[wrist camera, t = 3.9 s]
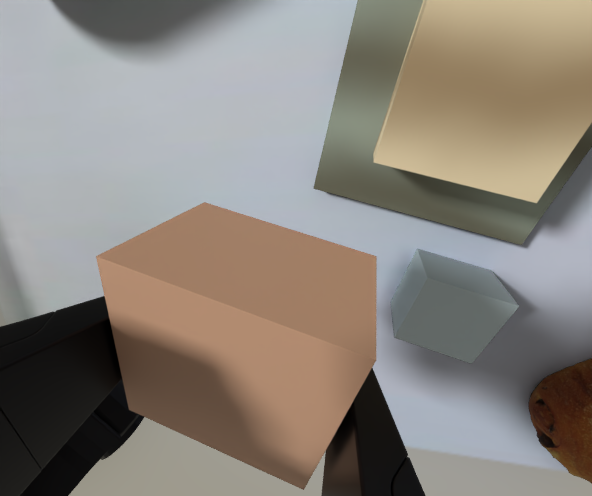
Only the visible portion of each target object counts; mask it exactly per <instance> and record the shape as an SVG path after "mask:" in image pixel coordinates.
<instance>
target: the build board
mask: <svg viewBox="0 0 592 496" xmlns="http://www.w3.org/2000/svg"><path fill="white" fill-rule="evenodd" d="M591 147H592V0H358V2H357V6H356V10H355V15H354V19H353V23H352V27H351V32H350V36H349V40H348V44H347V49H346V53H345V57H344V61H343V66H342V70H341V74H340V78H339V83H338V87H337V91H336V95H335V100H334V104H333V108H332V112H331V117H330V121H329V125H328V129H327V134H326V138H325V142H324V146H323V151H322V155H321V159H320V163H319V168H318V172H317V176H316V180H315V185H314V189H317V190H321V191H325V192H328V193H332V194H336V195H339V196H343V197H347V198H350V199H354V200H358V201H361V202H365V203H369V204H372V205H376V206H380V207H383V208H387V209H391V210H394V211H398V212H402V213H405V214H409V215H413V216H417V217H420V218H424V219H428V220H431V221H435V222H439V223H442V224H446V225H450V226H453V227H457V228H461V229H464V230H468V231H472V232H475V233H479V234H483V235H486V236H490V237H494V238H497V239H501V240H505V241H508V242H512V243H516V244H519V245H522V244H523V242H524V241H525V239H526V238H527V237H528V235H529V234H530V232H531V231H532V230H533V228H534V227H535V225H536V224H537V223H538V221H539V220H540V218H541V217H542V216H543V214H544V213H545V211H546V210H547V209H548V207H549V206H550V204H551V203H552V202H553V200H554V199H555V197H556V196H557V195H558V193H559V192H560V190H561V189H562V188H563V186H564V185H565V183H566V182H567V180H568V179H569V178H570V176H571V175H572V173H573V172H574V171H575V169H576V168H577V166H578V165H579V164H580V162H581V161H582V159H583V158H584V157H585V155H586V154H587V152H588V151H589V150H590V148H591Z"/></svg>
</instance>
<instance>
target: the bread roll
mask: <svg viewBox="0 0 592 496" xmlns="http://www.w3.org/2000/svg"><path fill="white" fill-rule="evenodd" d="M529 411H530V415H531V420H532V423H533V425H534V427H535V429H536V431H537V437H538V438H539V442H540V443H541V445H542V446H543V447H545V448H546V449H547V450H548V451H549V452H550V453H551V454H552V456H553V458H556V459H557V460H558V461H559V462H560V463H561V464H562V465H563V466H564V467H566V468H567V470H568V471H569V473H570V474H572V475H574V476H578V477H581V478H583V479H585V480H587V481H589V482H591V483H592V359H588V360H586V361H584V362H580V363H577V364H575V365H574V366H570V367H567V368H565V369H563V370H560V371H558V372H556V373H553V374H551V375H549V376H547V377H546V378H544V379H543V380H542V381H541V382H540V384H539V385H538V386H537V387H536V388H535V390H534V391H533V393H532V394H531V397H530V401H529Z"/></svg>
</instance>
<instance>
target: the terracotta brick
mask: <svg viewBox="0 0 592 496" xmlns="http://www.w3.org/2000/svg"><path fill="white" fill-rule="evenodd" d="M96 258H97V262H98V267H99V272H100V276H101V281H102V286H103V290H104V295H105V300H106V304H107V309H108V314H109V318H110V323H111V328H112V332H113V337H114V342H115V347H116V351H117V356H118V361H119V365H120V370H121V375H122V379H123V384H124V389H125V393H126V398H127V403H128V407H129V410H131V411H133V412H135V413H137V414H140V415H142V416H144V417H146V418H148V419H150V420H153V421H155V422H157V423H159V424H161V425H164V426H166V427H168V428H170V429H172V430H175V431H177V432H179V433H181V434H183V435H186V436H187V437H190V438H192V439H194V440H196V441H199V442H201V443H203V444H205V445H207V446H209V447H211V448H214V449H216V450H218V451H220V452H222V453H225V454H227V455H229V456H231V457H233V458H235V459H238V460H240V461H242V462H244V463H247V464H249V465H251V466H253V467H255V468H257V469H259V470H262V471H264V472H266V473H268V474H270V475H273V476H275V477H277V478H279V479H281V480H283V481H286V482H288V483H290V484H292V485H295V486H297V487H299V488H301V489H303V490H304V488H305V487H306V485H307V483H308V481H309V479H310V478H311V476H312V474H313V472H314V470H315V469H316V467H317V465H318V463H319V461H320V460H321V458H322V456H323V454H324V453H325V451H326V449H327V447H328V445H329V444H330V442H331V440H332V438H333V436H334V435H335V433H336V431H337V429H338V427H339V426H340V424H341V422H342V420H343V419H344V417H345V415H346V413H347V411H348V410H349V408H350V406H351V404H352V402H353V401H354V399H355V397H356V395H357V394H358V392H359V390H360V388H361V386H362V385H363V383H364V381H365V379H366V377H367V376H368V374H369V372H370V370H371V368H372V367H373V365H374V363H375V361H376V256H373V255H370V254H367V253H364V252H361V251H358V250H354V249H351V248H348V247H345V246H342V245H338V244H335V243H332V242H329V241H326V240H323V239H319V238H316V237H313V236H310V235H307V234H303V233H300V232H297V231H294V230H291V229H288V228H284V227H281V226H278V225H275V224H272V223H268V222H265V221H262V220H259V219H256V218H253V217H249V216H246V215H243V214H240V213H237V212H233V211H230V210H227V209H224V208H221V207H218V206H214V205H211V204H208V203H205V202H204V203H202V204H200V205H198V206H196V207H194V208H192V209H190V210H188V211H186V212H184V213H182V214H180V215H178V216H176V217H174V218H172V219H170V220H168V221H166V222H164V223H162V224H160V225H158V226H156V227H154V228H152V229H150V230H148V231H146V232H144V233H142V234H140V235H138V236H136V237H134V238H132V239H130V240H128V241H126V242H124V243H122V244H120V245H118V246H116V247H114V248H112V249H110V250H108V251H106V252H104V253H102V254H100V255H98V256H96Z"/></svg>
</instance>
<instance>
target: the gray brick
mask: <svg viewBox="0 0 592 496" xmlns="http://www.w3.org/2000/svg"><path fill="white" fill-rule="evenodd" d="M518 307H519V305H518V304H517V302H516V301H515V300H514V299H513V297H512V296H511V295H510V293H509V292H508V291H507V290H506V288H505V287H504V286H503V285H502V283H501V282H500V281H499V280H498V278H497V277H496V276H495V274H494V273H493V272H492V271H491V270H488V269H484V268H481V267H477V266H474V265H471V264H467V263H464V262H461V261H457V260H454V259H450V258H447V257H444V256H440V255H437V254H433V253H430V252H427V251H423V250H420V249H417V250H416V252H415V254H414V256H413V258H412V260H411V262H410V264H409V266H408V268H407V270H406V272H405V274H404V276H403V278H402V280H401V282H400V284H399V286H398V288H397V290H396V292H395V294H394V296H393V298H392V300H391V311H392V320H393V330H394V338H397V339H400V340H403V341H406V342H409V343H412V344H415V345H418V346H421V347H424V348H426V349H429V350H432V351H435V352H438V353H441V354H444V355H447V356H450V357H453V358H456V359H459V360H462V361H464V362H467V363H470V364H472V363H473V362H474V360H475V359H476V358H477V357H478V356H479V354H480V353H481V352H482V351H483V350H484V348H485V347H486V346H487V345H488V344H489V342H490V341H491V340H492V339H493V338H494V336H495V335H496V334H497V333H498V331H499V330H500V329H501V328H502V327H503V325H504V324H505V323H506V322H507V321H508V319H509V318H510V317H511V316H512V315H513V313H514V312H515V311H516V310H517V308H518Z"/></svg>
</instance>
